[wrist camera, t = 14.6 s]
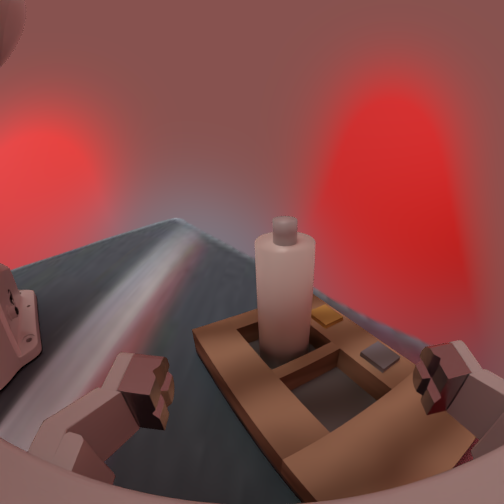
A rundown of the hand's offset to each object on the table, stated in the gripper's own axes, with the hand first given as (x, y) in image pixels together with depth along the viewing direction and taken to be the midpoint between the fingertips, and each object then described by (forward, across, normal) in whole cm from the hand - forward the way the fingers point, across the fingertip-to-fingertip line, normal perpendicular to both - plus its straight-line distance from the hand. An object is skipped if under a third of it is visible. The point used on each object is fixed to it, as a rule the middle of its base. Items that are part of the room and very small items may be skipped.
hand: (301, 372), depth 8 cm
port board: (+7, -4, +11) cm, 14 cm away
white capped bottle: (+12, -1, +11) cm, 16 cm away
